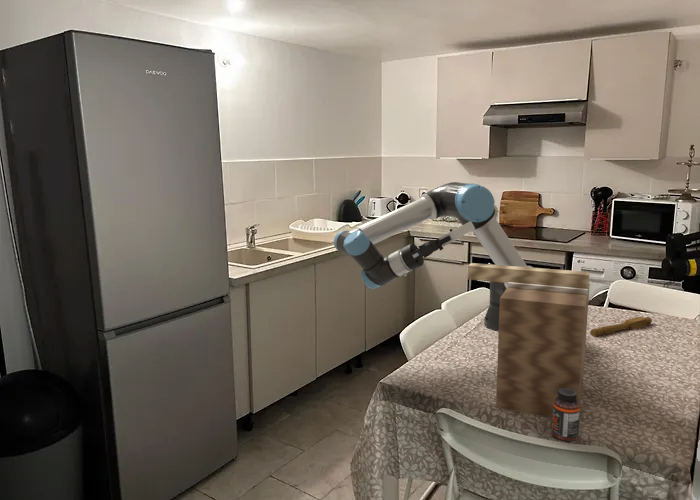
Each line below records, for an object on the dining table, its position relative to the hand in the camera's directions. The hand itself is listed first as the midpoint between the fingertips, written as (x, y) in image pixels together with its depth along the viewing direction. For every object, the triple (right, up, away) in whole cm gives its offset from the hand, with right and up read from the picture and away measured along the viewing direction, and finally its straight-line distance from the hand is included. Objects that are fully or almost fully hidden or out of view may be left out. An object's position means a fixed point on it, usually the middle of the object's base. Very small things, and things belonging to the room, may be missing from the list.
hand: (467, 228), depth 159 cm
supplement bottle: (+17, -51, -28) cm, 60 cm away
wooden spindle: (+67, -36, +45) cm, 88 cm away
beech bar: (+15, -15, -5) cm, 22 cm away
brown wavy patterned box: (+19, -46, -7) cm, 51 cm away
